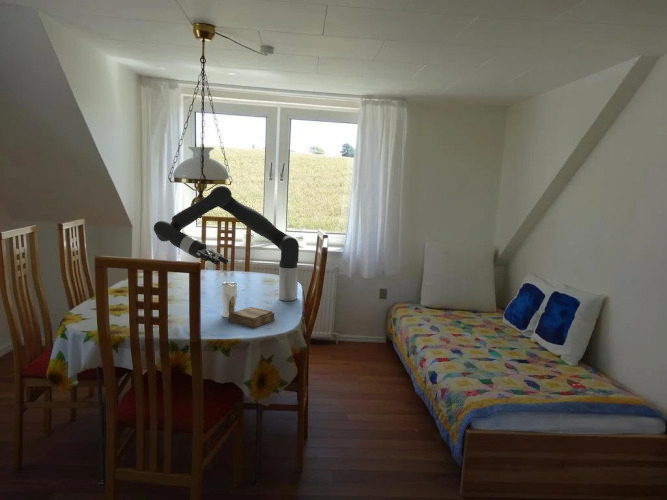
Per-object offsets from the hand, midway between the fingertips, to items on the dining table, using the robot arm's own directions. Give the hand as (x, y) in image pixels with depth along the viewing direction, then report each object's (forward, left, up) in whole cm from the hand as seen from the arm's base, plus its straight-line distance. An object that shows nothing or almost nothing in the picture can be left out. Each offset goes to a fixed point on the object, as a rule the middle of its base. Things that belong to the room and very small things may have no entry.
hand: (223, 262), depth 198 cm
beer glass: (-1, +2, -25) cm, 25 cm away
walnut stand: (-1, +15, -24) cm, 29 cm away
